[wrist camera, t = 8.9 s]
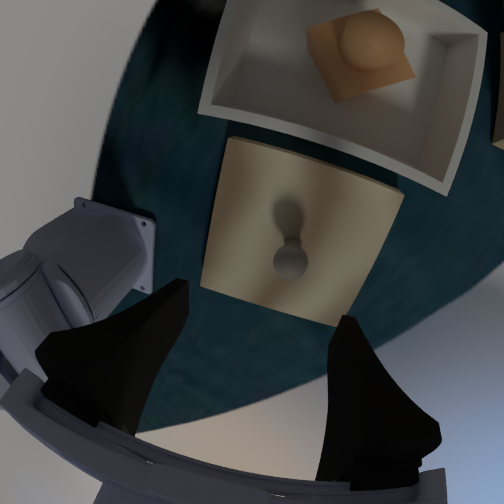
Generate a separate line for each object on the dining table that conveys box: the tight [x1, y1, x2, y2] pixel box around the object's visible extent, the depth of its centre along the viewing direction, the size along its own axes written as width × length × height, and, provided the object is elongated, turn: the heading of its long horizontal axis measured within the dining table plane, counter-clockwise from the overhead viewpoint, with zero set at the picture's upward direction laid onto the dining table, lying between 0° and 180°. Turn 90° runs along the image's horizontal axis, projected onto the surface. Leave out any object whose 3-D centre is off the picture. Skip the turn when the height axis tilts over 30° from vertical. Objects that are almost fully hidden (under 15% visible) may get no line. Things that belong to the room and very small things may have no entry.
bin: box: [198, 0, 488, 197], centre depth 12 cm, size 14×11×5 cm
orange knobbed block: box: [306, 8, 416, 103], centre depth 10 cm, size 4×4×8 cm
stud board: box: [200, 136, 404, 327], centre depth 19 cm, size 12×12×5 cm
